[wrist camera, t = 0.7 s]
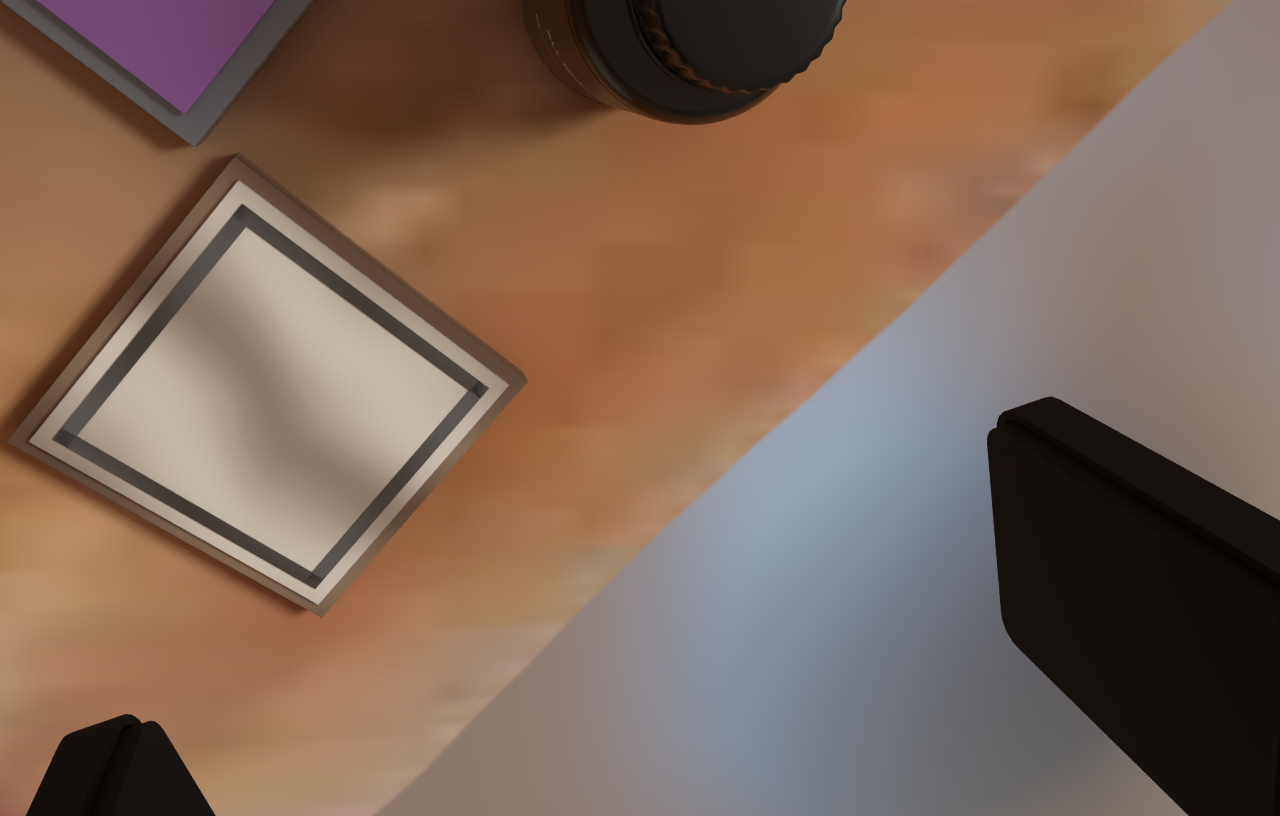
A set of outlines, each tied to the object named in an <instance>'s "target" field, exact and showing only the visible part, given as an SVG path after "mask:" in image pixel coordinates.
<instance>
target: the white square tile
mask: <svg viewBox="0 0 1280 816" xmlns="http://www.w3.org/2000/svg"><path fill="white" fill-rule="evenodd" d="M526 383H527V379H526V377H525V375H524V373H523V372H522V371H521V370H519V369H518V368H517V367H515V366H514V365H513V364H512V363H510V362H509V361H508V360H506V359H505V358H504V357H502V356H501V355H500V354H499V353H497V352H496V351H495V350H493V349H492V348H491V347H489V346H488V345H487V344H486V343H484V342H483V341H482V340H480V339H479V338H478V337H477V336H475V335H474V334H473V333H471V332H470V331H469V330H467V329H466V328H465V327H464V326H462V325H461V324H460V323H458V322H457V321H456V320H454V319H453V318H452V317H451V316H449V315H448V314H447V313H445V312H444V311H443V310H442V309H440V308H439V307H438V306H436V305H435V304H434V303H432V302H431V301H430V300H429V299H427V298H426V297H425V296H423V295H422V294H421V293H420V292H418V291H417V290H416V289H414V288H413V287H412V286H410V285H409V284H408V283H407V282H405V281H404V280H403V279H401V278H400V277H399V276H397V275H396V274H395V273H394V272H392V271H391V270H390V269H388V268H387V267H386V266H385V265H383V264H382V263H381V262H379V261H378V260H377V259H375V258H374V257H373V256H372V255H370V254H369V253H368V252H366V251H365V250H364V249H362V248H361V247H360V246H359V245H357V244H356V243H355V242H353V241H352V240H351V239H350V238H348V237H347V236H346V235H344V234H343V233H342V232H340V231H339V230H338V229H337V228H335V227H334V226H333V225H331V224H330V223H329V222H328V221H326V220H325V219H324V218H322V217H321V216H320V215H318V214H317V213H316V212H315V211H313V210H312V209H311V208H309V207H308V206H307V205H305V204H304V203H303V202H302V201H300V200H299V199H298V198H296V197H295V196H294V195H293V194H291V193H290V192H289V191H287V190H286V189H285V188H283V187H282V186H281V185H280V184H278V183H277V182H276V181H274V180H273V179H272V178H271V177H269V176H268V175H267V174H265V173H264V172H263V171H261V170H260V169H259V168H258V167H256V166H255V165H254V164H252V163H251V162H250V161H248V160H247V159H246V158H245V157H243V156H242V155H241V154H237V155H236V156H235V157H234V158H233V159H232V160H231V162H230V163H229V164H228V165H227V167H226V168H225V169H224V170H223V172H222V173H221V174H220V175H219V177H218V178H217V179H216V181H215V182H214V183H213V184H212V186H211V187H210V188H209V189H208V191H207V192H206V193H205V194H204V196H203V197H202V198H201V199H200V201H199V202H198V203H197V204H196V206H195V207H194V208H193V209H192V211H191V212H190V213H189V214H188V216H187V217H186V218H185V219H184V221H183V222H182V223H181V224H180V226H179V227H178V228H177V229H176V231H175V232H174V233H173V234H172V236H171V237H170V238H169V239H168V241H167V242H166V243H165V244H164V246H163V247H162V248H161V249H160V251H159V252H158V253H157V254H156V256H155V257H154V258H153V259H152V261H151V262H150V263H149V264H148V266H147V267H146V268H145V269H144V271H143V272H142V273H141V274H140V276H139V277H138V278H137V279H136V281H135V282H134V283H133V284H132V286H131V287H130V288H129V289H128V291H127V292H126V293H125V294H124V296H123V297H122V298H121V299H120V301H119V302H118V303H117V304H116V306H115V307H114V308H113V309H112V311H111V312H110V313H109V314H108V316H107V317H106V318H105V319H104V321H103V322H102V323H101V324H100V326H99V327H98V328H97V329H96V331H95V332H94V333H93V334H92V336H91V337H90V338H89V339H88V341H87V342H86V343H85V344H84V346H83V347H82V348H81V350H80V351H79V352H78V353H77V355H76V356H75V357H74V358H73V360H72V361H71V362H70V363H69V365H68V366H67V367H66V368H65V370H64V371H63V372H62V373H61V375H60V376H59V377H58V378H57V380H56V381H55V382H54V383H53V385H52V386H51V387H50V388H49V390H48V391H47V392H46V393H45V395H44V396H43V397H42V398H41V400H40V401H39V402H38V403H37V405H36V406H35V407H34V408H33V410H32V411H31V412H30V413H29V415H28V416H27V417H26V418H25V420H24V421H23V422H22V423H21V425H20V426H19V427H18V428H17V430H16V431H15V432H14V433H13V435H12V436H11V437H10V438H9V440H8V441H7V443H9V444H11V445H13V446H14V447H16V448H18V449H20V450H22V451H23V452H25V453H27V454H29V455H31V456H32V457H34V458H36V459H38V460H39V461H41V462H43V463H45V464H47V465H48V466H50V467H52V468H54V469H56V470H57V471H59V472H61V473H63V474H65V475H66V476H68V477H70V478H72V479H74V480H75V481H77V482H79V483H81V484H83V485H84V486H86V487H88V488H90V489H92V490H93V491H95V492H97V493H99V494H101V495H102V496H104V497H106V498H108V499H110V500H111V501H113V502H115V503H117V504H118V505H120V506H122V507H124V508H126V509H127V510H129V511H131V512H133V513H135V514H136V515H138V516H140V517H142V518H144V519H145V520H147V521H149V522H151V523H153V524H154V525H156V526H158V527H160V528H162V529H163V530H165V531H167V532H169V533H171V534H172V535H174V536H176V537H178V538H180V539H181V540H183V541H185V542H187V543H188V544H190V545H192V546H194V547H196V548H197V549H199V550H201V551H203V552H205V553H206V554H208V555H210V556H212V557H214V558H215V559H217V560H219V561H221V562H223V563H224V564H226V565H228V566H230V567H232V568H233V569H235V570H237V571H239V572H241V573H242V574H244V575H246V576H248V577H250V578H251V579H253V580H255V581H257V582H259V583H260V584H262V585H264V586H266V587H267V588H269V589H271V590H273V591H275V592H276V593H278V594H280V595H282V596H284V597H285V598H287V599H289V600H291V601H293V602H294V603H296V604H298V605H300V606H302V607H303V608H305V609H307V610H309V611H311V612H312V613H314V614H316V615H318V616H320V617H321V618H322V617H323V616H324V614H325V613H326V612H327V611H328V610H329V609H330V608H331V606H332V605H333V604H334V603H335V602H336V601H337V600H338V598H339V597H340V596H341V595H342V594H343V593H344V591H345V590H346V589H347V588H348V587H349V586H350V585H351V583H352V582H353V581H354V580H355V579H356V578H357V577H358V575H359V574H360V573H361V572H362V571H363V570H364V569H365V567H366V566H367V565H368V564H369V563H370V562H371V561H372V559H373V558H374V557H375V556H376V555H377V554H378V552H379V551H380V550H381V549H382V548H383V547H384V546H385V544H386V543H387V542H388V541H389V540H390V539H391V538H392V536H393V535H394V534H395V533H396V532H397V531H398V530H399V528H400V527H401V526H402V525H403V524H404V523H405V521H406V520H407V519H408V518H409V517H410V516H411V515H412V513H413V512H414V511H415V510H416V509H417V508H418V507H419V505H420V504H421V503H422V502H423V501H424V500H425V499H426V497H427V496H428V495H429V494H430V493H431V492H432V491H433V489H434V488H435V487H436V486H437V485H438V484H439V482H440V481H441V480H442V479H443V478H444V477H445V476H446V474H447V473H448V472H449V471H450V470H451V469H452V468H453V466H454V465H455V464H456V463H457V462H458V461H459V460H460V458H461V457H462V456H463V455H464V454H465V453H466V451H467V450H468V449H469V448H470V447H471V446H472V445H473V443H474V442H475V441H476V440H477V439H478V438H479V437H480V435H481V434H482V433H483V432H484V431H485V430H486V429H487V427H488V426H489V425H490V424H491V423H492V422H493V421H494V419H495V418H496V417H497V416H498V415H499V414H500V412H501V411H502V410H503V409H504V408H505V407H506V406H507V404H508V403H509V402H510V401H511V400H512V399H513V398H514V396H515V395H516V394H517V393H518V392H519V391H520V390H521V388H522V387H523V386H524V385H525V384H526Z"/></svg>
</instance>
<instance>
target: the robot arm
mask: <svg viewBox="0 0 1280 816" xmlns="http://www.w3.org/2000/svg"><path fill="white" fill-rule="evenodd" d="M987 448H988V460H989V471H990V484H991V497H992V509H993V519H994V520H993V521H994V532H995V545H996V556H997V568H998V581H999V593H1000V605H1001V614H1002V620H1003V623H1004V626H1005V629H1006V631H1007V633H1008V635H1009V636H1010V638H1011V639H1012V641H1013V642H1014V644H1015V645H1016V646H1017V647H1018V648H1019V649H1020V650H1021V651H1022V652H1023V653H1024V654H1025V655H1026V656H1027V657H1028V658H1029V659H1030V660H1031V661H1032V662H1033V663H1034V664H1035V665H1036V666H1037V667H1038V668H1039V669H1040V670H1041V671H1042V672H1043V673H1044V674H1045V675H1046V676H1047V677H1048V678H1049V679H1050V680H1051V681H1052V682H1053V683H1054V684H1055V685H1056V686H1057V687H1058V688H1060V690H1062V692H1064V693H1065V695H1066V696H1068V697H1069V698H1070V699H1071V700H1072V701H1073V702H1074V703H1075V704H1076V705H1077V706H1078V707H1079V708H1080V709H1081V710H1082V711H1083V712H1084V713H1085V714H1086V715H1087V716H1088V717H1089V718H1090V719H1091V720H1092V721H1093V722H1094V723H1095V724H1096V725H1097V726H1098V727H1099V728H1100V729H1101V730H1102V731H1103V732H1104V733H1105V734H1106V735H1107V736H1108V737H1109V738H1110V739H1111V740H1112V741H1113V742H1114V743H1115V744H1116V745H1117V746H1118V747H1119V748H1120V749H1121V750H1122V751H1123V752H1124V753H1125V754H1127V755H1128V756H1129V757H1130V758H1131V759H1132V760H1133V761H1134V762H1135V763H1136V764H1137V765H1138V766H1139V767H1140V768H1141V769H1142V770H1143V771H1144V772H1145V773H1146V774H1147V775H1148V776H1149V777H1150V778H1151V779H1152V780H1153V781H1154V782H1155V783H1156V784H1157V785H1158V786H1159V787H1160V788H1161V789H1162V790H1163V791H1164V792H1165V793H1166V794H1167V795H1168V796H1169V797H1170V798H1171V799H1172V800H1173V801H1175V803H1176V804H1177V805H1178V806H1179V807H1180V808H1182V810H1183V811H1185V813H1187V814H1188V815H1189V816H1280V521H1279V520H1278V519H1276V518H1274V517H1272V516H1270V515H1269V514H1267V513H1265V512H1263V511H1261V510H1260V509H1258V508H1256V507H1254V506H1252V505H1250V504H1248V503H1247V502H1245V501H1243V500H1241V499H1239V498H1238V497H1236V496H1234V495H1232V494H1230V493H1228V492H1227V491H1225V490H1223V489H1221V488H1220V487H1218V486H1216V485H1214V484H1212V483H1210V482H1208V481H1207V480H1205V479H1203V478H1201V477H1200V476H1198V475H1196V474H1194V473H1192V472H1190V471H1189V470H1187V469H1185V468H1183V467H1181V466H1180V465H1178V464H1176V463H1174V462H1172V461H1170V460H1169V459H1167V458H1165V457H1163V456H1161V455H1159V454H1158V453H1156V452H1154V451H1152V450H1150V449H1149V448H1147V447H1145V446H1143V445H1141V444H1139V443H1138V442H1136V441H1134V440H1132V439H1130V438H1129V437H1127V436H1125V435H1123V434H1121V433H1120V432H1118V431H1116V430H1114V429H1112V428H1110V427H1109V426H1107V425H1105V424H1103V423H1101V422H1099V421H1098V420H1096V419H1094V418H1092V417H1090V416H1089V415H1087V414H1085V413H1083V412H1081V411H1080V410H1078V409H1076V408H1074V407H1072V406H1070V405H1069V404H1067V403H1065V402H1063V401H1061V400H1060V399H1057V398H1054V397H1046V398H1042V399H1040V400H1036V401H1034V402H1030V403H1028V404H1025V405H1022V406H1019V407H1016V408H1013V409H1010V410H1007V411H1004V412H1003V413H1002V414H1001V415H1000V416H999V418H998V421H997V428H994V429H992V430H991V431H990V432H989V434H988V437H987ZM26 816H215V814H214V812H213V811H212V809H211V807H210V806H209V804H208V802H207V801H206V799H205V797H204V796H203V794H202V792H201V791H200V789H199V788H198V786H197V784H196V783H195V781H194V779H193V778H192V776H191V774H190V773H189V771H188V769H187V768H186V766H185V764H184V763H183V761H182V760H181V758H180V756H179V755H178V753H177V751H176V750H175V748H174V746H173V745H172V743H171V741H170V740H169V738H168V736H167V735H166V733H165V731H164V730H163V729H162V727H161V726H160V725H159V724H158V723H156V722H155V721H148V722H145V723H141V722H140V720H139V719H137V718H136V717H135V716H133V715H129V714H124V715H121V716H118V717H116V718H113V719H110V720H107V721H104V722H101V723H98V724H95V725H92V726H89V727H86V728H84V729H81V730H78V731H75V732H72V733H70V734H68V735H66V736H65V737H64V738H63V739H62V741H61V742H60V744H59V746H58V748H57V750H56V752H55V754H54V756H53V758H52V761H51V763H50V765H49V767H48V769H47V771H46V773H45V776H44V778H43V780H42V782H41V784H40V786H39V788H38V791H37V793H36V795H35V797H34V799H33V801H32V803H31V806H30V808H29V810H28V812H27V814H26Z"/></svg>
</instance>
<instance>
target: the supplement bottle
mask: <svg viewBox="0 0 1280 816" xmlns="http://www.w3.org/2000/svg"><path fill="white" fill-rule="evenodd" d="M845 2H846V0H521V4H522V12H523V16H524V21H525V25H526V28H527V31H528V34H529V36H530V39H531V41H532V44H533V46H534V47H535V49H536V51H537V53H538V55H539V56H540V58H541V59H542V61H543V62H544V63H545V65H546V66H547V67H548V68H549V70H550V71H551V72H552V73H553V74H554V75H555V76H556V77H557V78H558V79H559V80H560V81H562V82H563V83H564V84H565V85H566V86H568V87H569V88H571V89H572V90H573V91H575V92H577V93H579V94H581V95H582V96H584V97H587V98H589V99H592V100H594V101H596V102H599V103H603V104H606V105H609V106H612V107H616V108H619V109H622V110H626V111H629V112H632V113H635V114H639V115H642V116H645V117H649V118H652V119H655V120H659V121H663V122H668V123H673V124H685V125H702V124H709V123H715V122H719V121H723V120H726V119H729V118H732V117H735V116H737V115H739V114H741V113H743V112H745V111H747V110H749V109H751V108H752V107H754V106H756V105H757V104H759V103H760V102H762V101H763V100H764V99H766V98H767V97H768V96H769V95H770V94H771V93H773V92H774V91H775V90H776V89H777V88H778V87H779V86H780V85H781V84H782V83H787V82H789V81H790V80H791V79H792V78H793V77H794V75H795V74H797V73H801V72H804V71H806V69H807V68H808V66H809V64H810V63H811V61H813V60H815V59H817V58H818V57H820V55H821V53H822V50H823V48H824V46H825V45H826V44H827V43H828V42H829V41H830V40H832V38H833V34H834V29H835V27H836V26H837V25H838V23H839V22H840V21H841V19H842V7H843V6H844V4H845Z"/></svg>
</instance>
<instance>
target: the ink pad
mask: <svg viewBox="0 0 1280 816" xmlns="http://www.w3.org/2000/svg"><path fill="white" fill-rule="evenodd" d="M0 1H1V2H3V3H4V4H5V5H7V6H8V7H9V8H11V9H12V10H13V11H15V12H16V13H17V14H19V15H20V16H21V17H23V18H24V19H25V20H27V21H28V22H29V23H30V24H32V25H33V26H34V27H36V28H37V29H38V30H40V31H41V32H42V33H44V34H45V35H46V36H48V37H49V38H50V39H52V40H53V41H54V42H56V43H57V44H58V45H60V46H61V47H62V48H64V49H65V50H66V51H67V52H69V53H70V54H71V55H73V56H74V57H75V58H77V59H78V60H79V61H81V62H82V63H83V64H85V65H86V66H87V67H89V68H90V69H91V70H93V71H94V72H95V73H97V74H98V75H99V76H100V77H102V78H103V79H104V80H106V81H107V82H108V83H110V84H111V85H112V86H114V87H115V88H116V89H118V90H119V91H120V92H122V93H123V94H124V95H126V96H127V97H128V98H130V99H131V100H132V101H133V102H135V103H136V104H137V105H139V106H140V107H141V108H143V109H144V110H145V111H147V112H148V113H149V114H151V115H152V116H153V117H155V118H156V119H157V120H159V121H160V122H161V123H163V124H164V125H165V126H167V127H168V128H169V129H170V130H172V131H173V132H174V133H176V134H177V135H178V136H180V137H181V138H182V139H184V140H185V141H186V142H188V143H189V144H190V145H192V146H193V147H196V146H198V145H200V144H201V143H202V142H203V141H204V139H205V138H206V137H207V136H208V134H209V133H210V132H211V131H212V129H213V128H214V127H215V126H216V124H217V123H218V122H219V121H220V119H221V118H222V117H223V116H224V114H225V113H226V112H227V110H228V109H229V108H230V107H231V105H232V104H233V103H234V102H235V100H236V99H237V98H238V97H239V95H240V94H241V93H242V92H243V90H244V89H245V88H246V86H247V85H248V84H249V83H250V81H251V80H252V79H253V78H254V76H255V75H256V74H257V73H258V71H259V70H260V69H261V68H262V66H263V65H264V64H265V62H266V61H267V60H268V59H269V57H270V56H271V55H272V54H273V52H274V51H275V50H276V49H277V47H278V46H279V45H280V44H281V42H282V41H283V40H284V39H285V37H286V36H287V35H288V33H289V32H290V31H291V30H292V28H293V27H294V26H295V25H296V23H297V22H298V21H299V20H300V18H301V17H302V16H303V15H304V13H305V12H306V11H307V9H308V8H309V7H310V6H311V4H312V3H313V2H314V1H315V0H0Z"/></svg>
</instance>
